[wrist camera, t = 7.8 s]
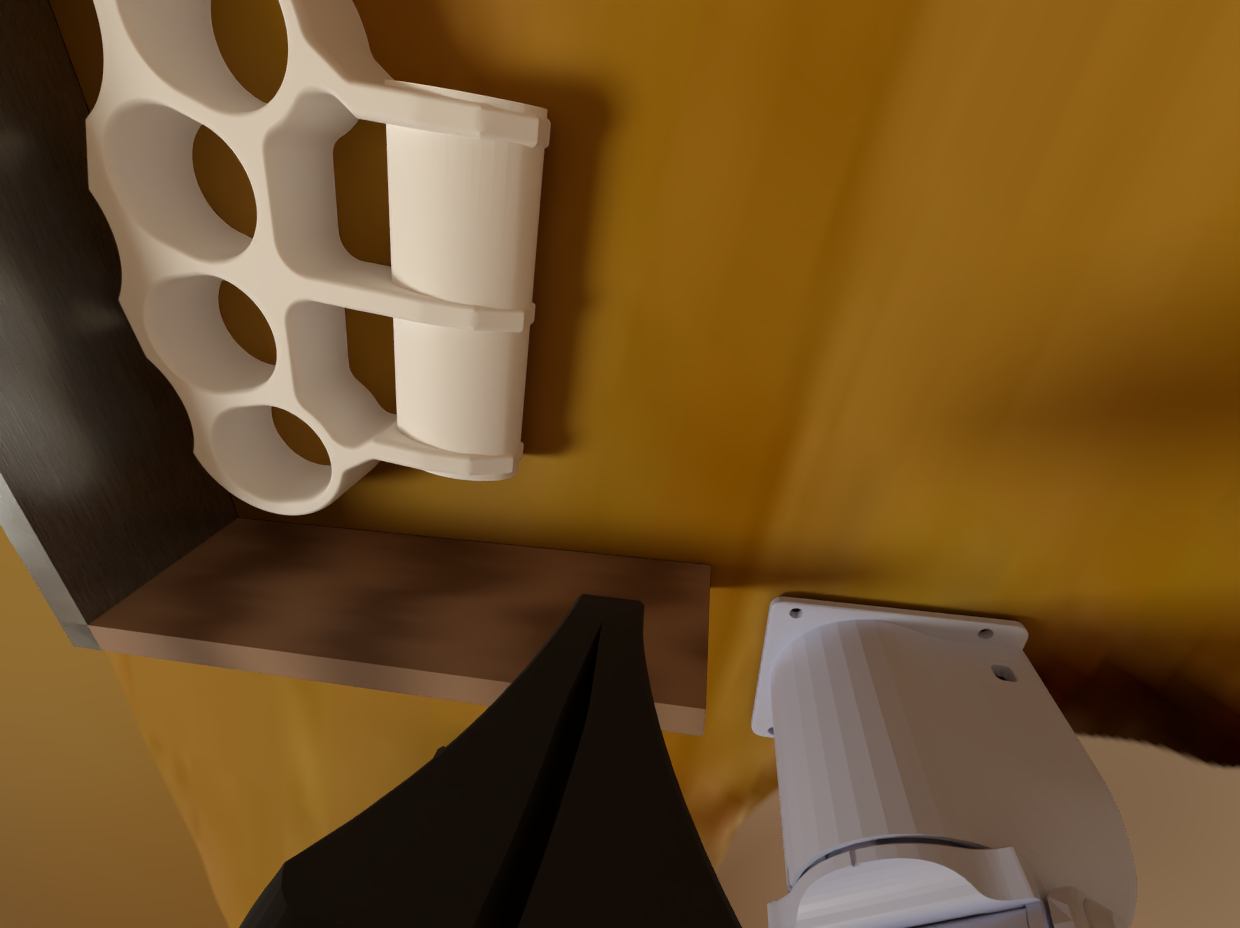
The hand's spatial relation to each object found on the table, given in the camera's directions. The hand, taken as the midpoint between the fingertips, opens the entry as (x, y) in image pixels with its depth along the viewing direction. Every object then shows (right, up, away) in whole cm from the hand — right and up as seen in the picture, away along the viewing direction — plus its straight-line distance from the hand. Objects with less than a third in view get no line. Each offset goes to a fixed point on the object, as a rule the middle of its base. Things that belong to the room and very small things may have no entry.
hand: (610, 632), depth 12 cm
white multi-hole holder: (-10, +11, +8) cm, 16 cm away
